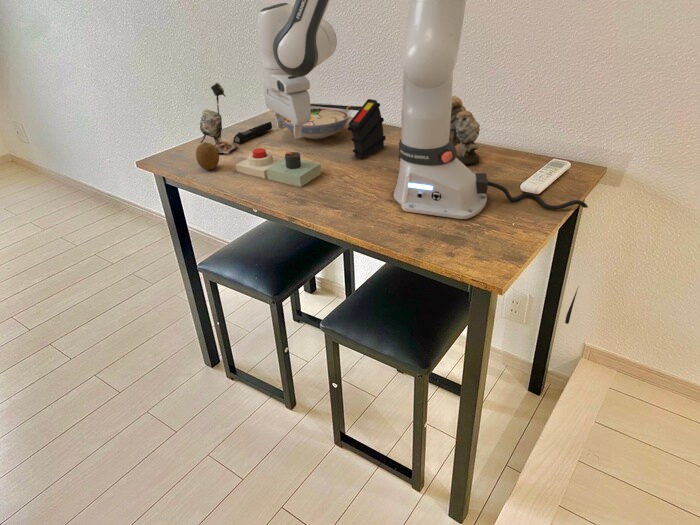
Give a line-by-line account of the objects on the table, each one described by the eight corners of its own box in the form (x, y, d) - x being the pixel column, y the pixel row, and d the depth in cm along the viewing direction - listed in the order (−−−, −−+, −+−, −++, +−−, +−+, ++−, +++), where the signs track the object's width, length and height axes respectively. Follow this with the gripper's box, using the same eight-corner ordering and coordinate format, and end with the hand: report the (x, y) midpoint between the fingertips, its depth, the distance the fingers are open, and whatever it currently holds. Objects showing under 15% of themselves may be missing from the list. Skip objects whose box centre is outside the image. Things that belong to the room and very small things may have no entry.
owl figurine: (410, 158, 149) (412, 98, 139) (428, 145, 157) (430, 87, 147) (470, 170, 140) (476, 107, 131) (485, 155, 149) (492, 95, 139)
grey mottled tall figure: (214, 143, 165) (202, 78, 154) (241, 149, 160) (231, 82, 149) (195, 152, 159) (181, 85, 148) (223, 158, 154) (211, 89, 143)
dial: (304, 164, 140) (302, 152, 138) (295, 170, 137) (294, 157, 135) (291, 162, 142) (290, 149, 140) (283, 167, 139) (281, 155, 137)
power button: (269, 155, 145) (268, 149, 144) (260, 160, 142) (260, 153, 141) (259, 153, 146) (258, 147, 145) (250, 157, 144) (249, 151, 143)
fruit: (196, 168, 148) (190, 141, 144) (218, 163, 151) (213, 136, 146) (201, 175, 144) (196, 148, 139) (224, 170, 146) (219, 143, 142)
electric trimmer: (275, 131, 172) (274, 122, 171) (240, 145, 162) (239, 135, 161) (267, 129, 174) (266, 120, 173) (232, 143, 164) (231, 133, 163)
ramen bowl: (265, 143, 163) (261, 118, 158) (299, 121, 180) (296, 97, 176) (338, 153, 154) (336, 126, 150) (366, 128, 171) (365, 103, 167)
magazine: (391, 139, 157) (378, 99, 146) (368, 170, 153) (353, 131, 141) (381, 137, 159) (367, 97, 148) (358, 167, 155) (342, 129, 143)
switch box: (286, 166, 147) (284, 152, 145) (264, 178, 141) (262, 164, 138) (258, 160, 152) (257, 146, 150) (236, 171, 145) (234, 158, 143)
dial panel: (321, 173, 142) (320, 163, 140) (300, 187, 135) (299, 176, 133) (289, 166, 147) (287, 156, 145) (267, 179, 140) (266, 168, 138)
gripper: (254, 72, 133) (262, 125, 141) (288, 88, 118) (295, 146, 126) (277, 67, 136) (283, 120, 143) (313, 83, 121) (318, 140, 128)
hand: (289, 132), depth 134 cm, fingers open, 8 cm apart
